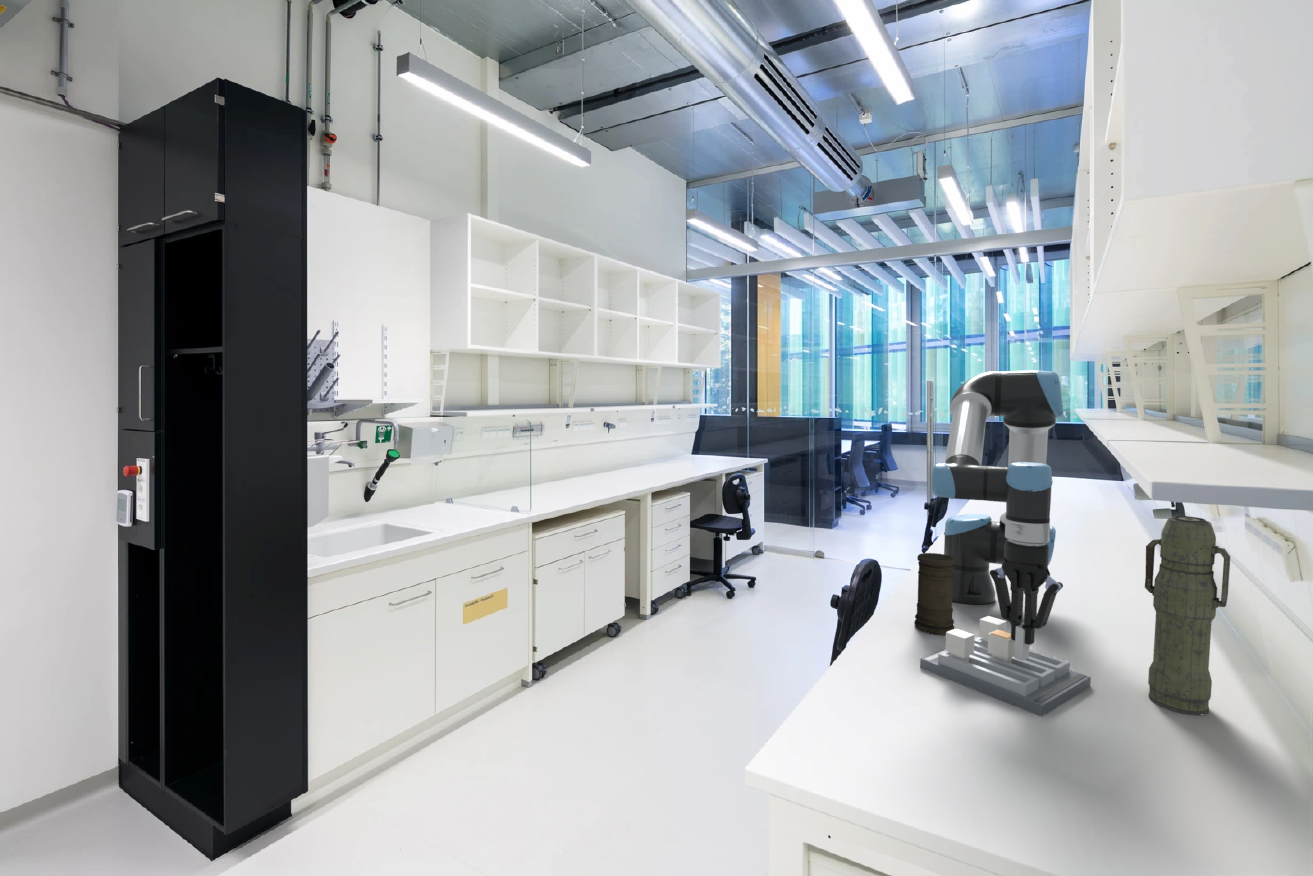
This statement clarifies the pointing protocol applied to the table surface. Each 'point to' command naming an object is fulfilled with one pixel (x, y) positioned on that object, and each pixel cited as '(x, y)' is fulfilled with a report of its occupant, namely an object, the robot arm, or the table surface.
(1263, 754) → the table surface
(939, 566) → the container
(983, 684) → the panel
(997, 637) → the handle
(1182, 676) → the thermos
